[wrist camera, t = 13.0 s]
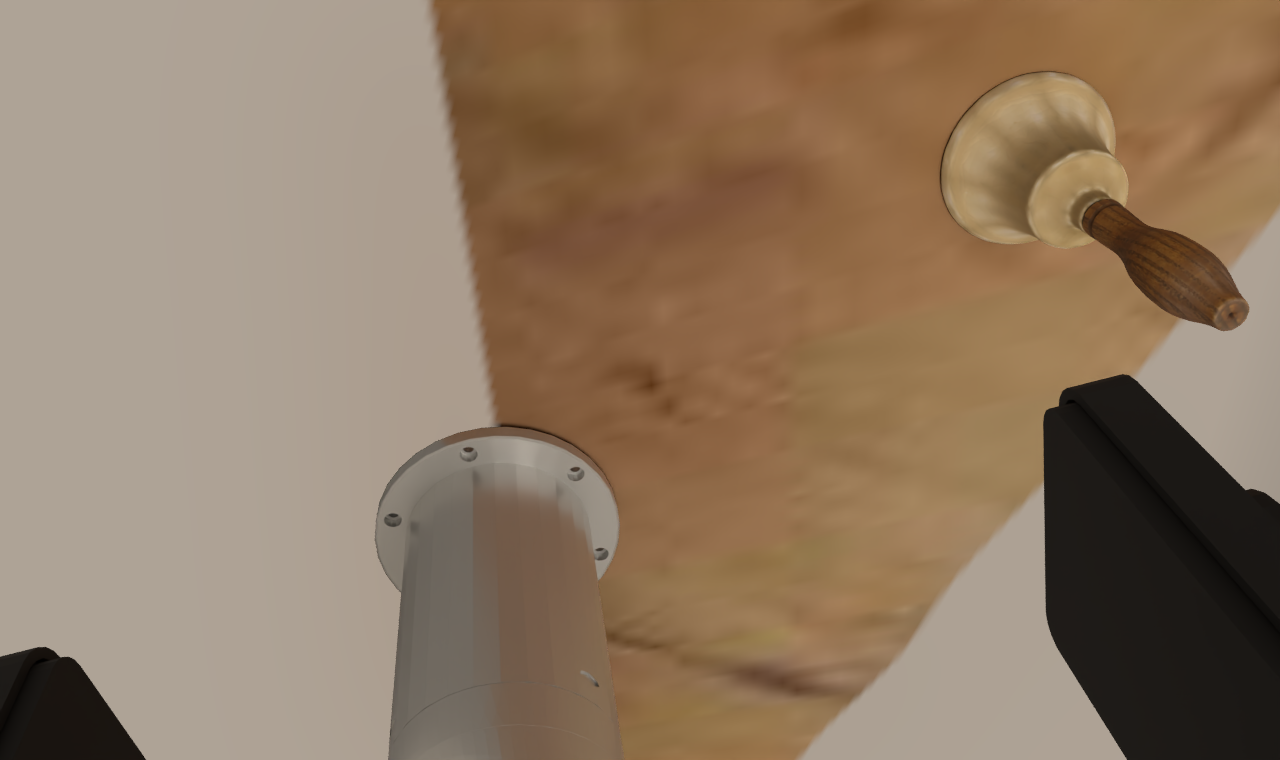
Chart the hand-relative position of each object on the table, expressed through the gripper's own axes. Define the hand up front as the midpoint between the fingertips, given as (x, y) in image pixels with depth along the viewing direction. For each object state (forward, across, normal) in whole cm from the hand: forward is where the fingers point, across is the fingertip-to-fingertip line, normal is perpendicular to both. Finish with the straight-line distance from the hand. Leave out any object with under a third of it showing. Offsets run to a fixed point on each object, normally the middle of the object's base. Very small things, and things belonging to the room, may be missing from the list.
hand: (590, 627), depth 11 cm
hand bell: (+38, -21, +15) cm, 46 cm away
